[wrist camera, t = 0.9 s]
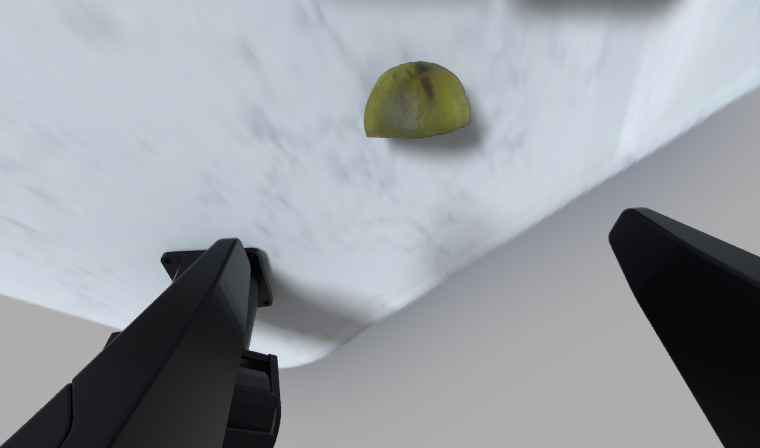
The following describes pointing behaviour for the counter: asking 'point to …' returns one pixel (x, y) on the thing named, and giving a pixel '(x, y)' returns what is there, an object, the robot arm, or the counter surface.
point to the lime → (416, 102)
